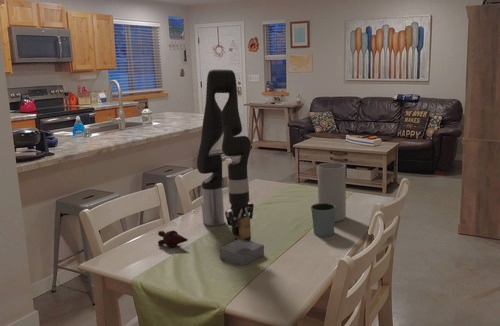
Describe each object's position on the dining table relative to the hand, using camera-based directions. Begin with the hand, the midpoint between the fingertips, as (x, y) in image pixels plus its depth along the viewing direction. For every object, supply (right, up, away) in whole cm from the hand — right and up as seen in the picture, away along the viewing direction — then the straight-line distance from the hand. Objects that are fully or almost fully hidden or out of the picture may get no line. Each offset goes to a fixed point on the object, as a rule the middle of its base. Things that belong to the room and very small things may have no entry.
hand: (241, 233), depth 177 cm
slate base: (0, -9, +2) cm, 9 cm away
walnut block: (0, -1, 0) cm, 1 cm away
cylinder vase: (+41, +1, +41) cm, 58 cm away
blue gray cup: (+35, -4, +22) cm, 41 cm away
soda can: (0, -6, +17) cm, 18 cm away
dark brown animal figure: (-28, -8, +15) cm, 33 cm away
